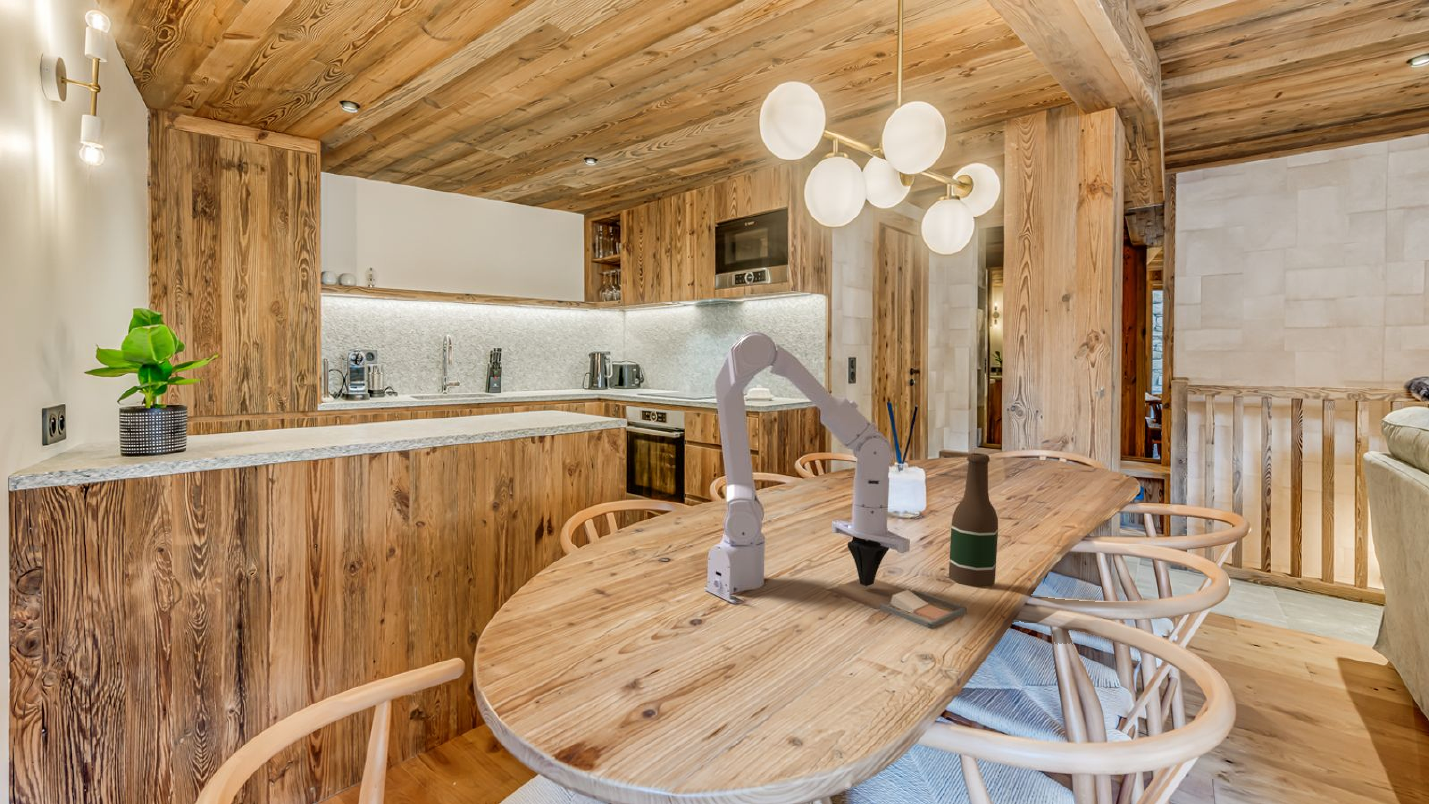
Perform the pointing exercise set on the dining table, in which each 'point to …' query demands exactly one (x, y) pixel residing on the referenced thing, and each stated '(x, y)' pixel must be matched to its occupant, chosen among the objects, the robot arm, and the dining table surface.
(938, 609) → the terracotta tile
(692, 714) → the dining table surface
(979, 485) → the beer bottle
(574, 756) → the dining table surface
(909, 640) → the dining table surface
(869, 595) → the walnut board
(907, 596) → the offwhite tile
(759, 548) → the robot arm
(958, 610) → the tray
